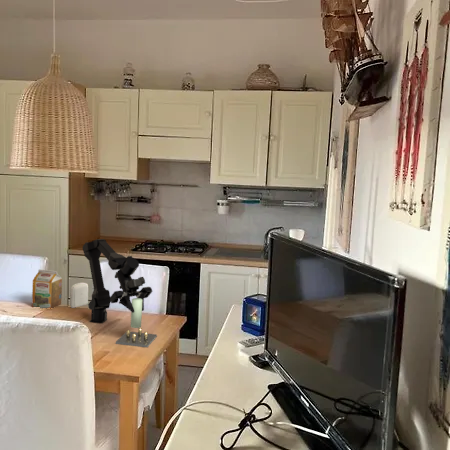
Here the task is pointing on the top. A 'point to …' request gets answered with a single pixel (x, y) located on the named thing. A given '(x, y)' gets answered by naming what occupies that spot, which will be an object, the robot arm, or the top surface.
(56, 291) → the milk carton
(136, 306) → the mint green tapered post
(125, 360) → the top surface
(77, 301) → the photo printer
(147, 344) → the chassis plate
